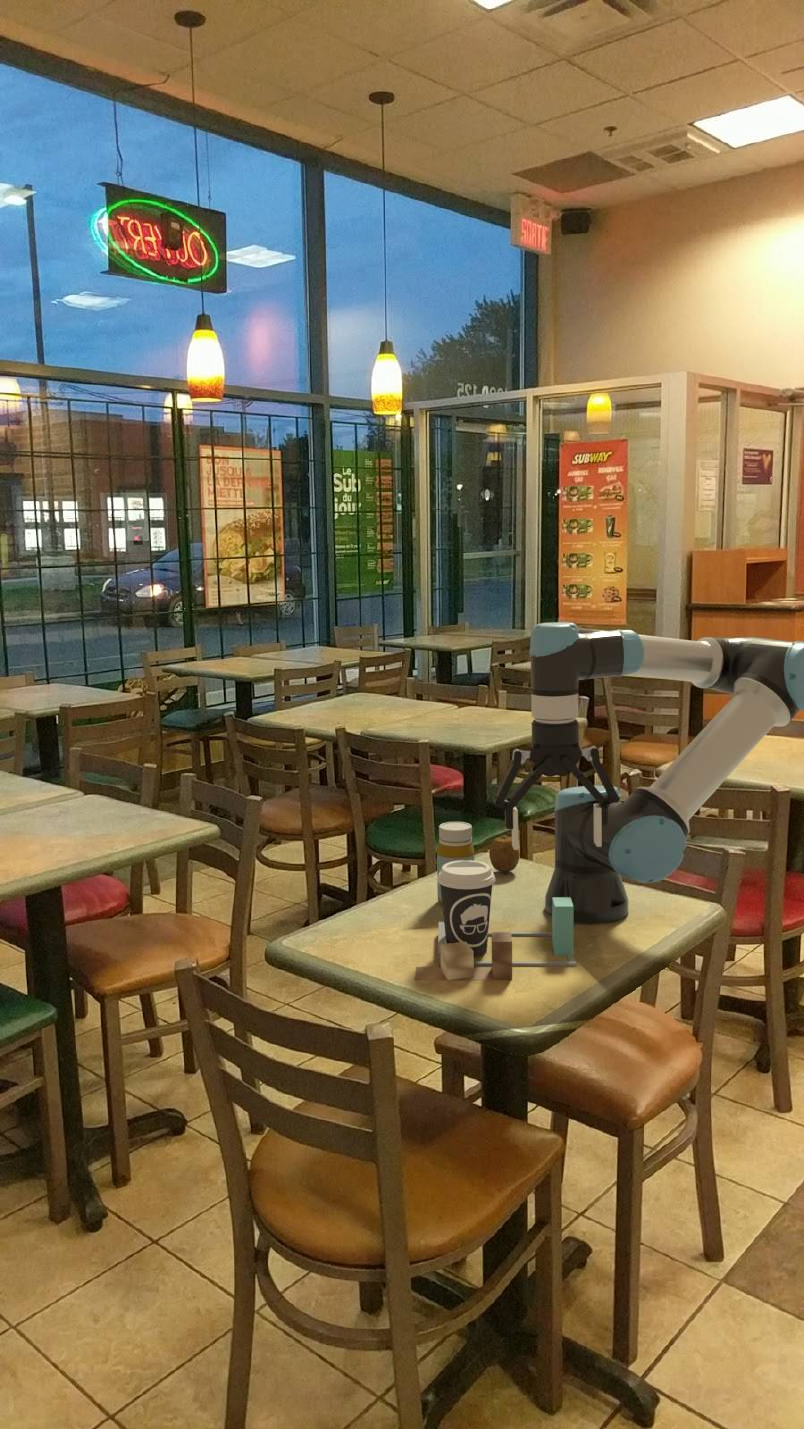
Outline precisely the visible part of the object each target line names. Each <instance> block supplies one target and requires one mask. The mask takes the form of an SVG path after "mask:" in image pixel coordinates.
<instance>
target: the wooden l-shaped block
mask: <svg viewBox="0 0 804 1429" xmlns="http://www.w3.org/2000/svg"><path fill="white" fill-rule="evenodd" d="M491 932H492V936H491V961H492V966H474V977H471V978H462V979H453V980H452V981H513V966H512V961H513V938H512V937H513V936H511V932H512V931H491ZM414 976H415V978H414V981H448V980H447V978H446V977H445V975H444V974H443V972H442V971H441V966H416V968H415V975H414Z"/></svg>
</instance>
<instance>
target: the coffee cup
mask: <svg viewBox="0 0 804 1429" xmlns="http://www.w3.org/2000/svg"><path fill="white" fill-rule="evenodd" d="M436 881H438V883H440V886H441V896H442V905H441V906H442V912H443V922H444V925H445V935H446V944H448V943H458V942H467V943H468V945H469V946H470V948H471V949H472V950H473V952H474V958H477V957H481V956H483V955H485V954H486V953H487V951H488V939H489V936H488V932H489V928H490V915H491V906H492V894H493V884H495V883H496V877H495V873H494V872H493V871H492V869H491V866H490V865H489V864H488V863H486V862H483V861H479V860H475V861H473V860H459V861H452V862H449V863H446V864H444V865H443V866H442V870H441V871H440V872H439V875H438V878H437V877H436Z"/></svg>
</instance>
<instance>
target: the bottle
mask: <svg viewBox="0 0 804 1429" xmlns="http://www.w3.org/2000/svg"><path fill="white" fill-rule="evenodd" d="M438 837H439V839H438V841H439V842H438V846H437V849H436V863H437V864H436V866H437V868H436V871H437V877H436V879H437V878H438V875H439V872H440V871H441V870H442V866H443V865H444V864H446V863H449V862H452V861H459V860H473V861H476V860H475V848H474V845H473V826H472V824H470V823H469V822H464V821H447V822H442V823H441V824H440V825H438ZM436 881H437V880H436ZM436 884H437V885H436V886H437V901H438V903H439V904H440V905H441V906H443V905H442V896H441V886H440V883H438V881H437V883H436Z"/></svg>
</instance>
